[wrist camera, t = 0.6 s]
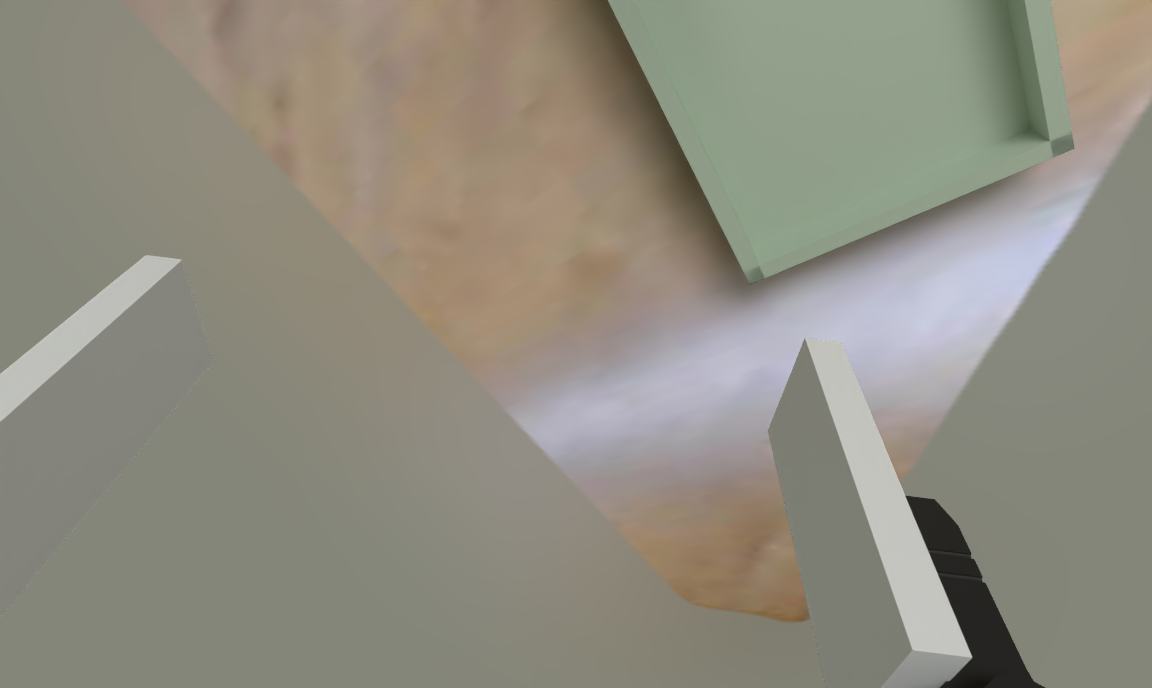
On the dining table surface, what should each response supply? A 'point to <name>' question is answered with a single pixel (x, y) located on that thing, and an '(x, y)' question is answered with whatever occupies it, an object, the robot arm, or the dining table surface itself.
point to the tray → (847, 109)
